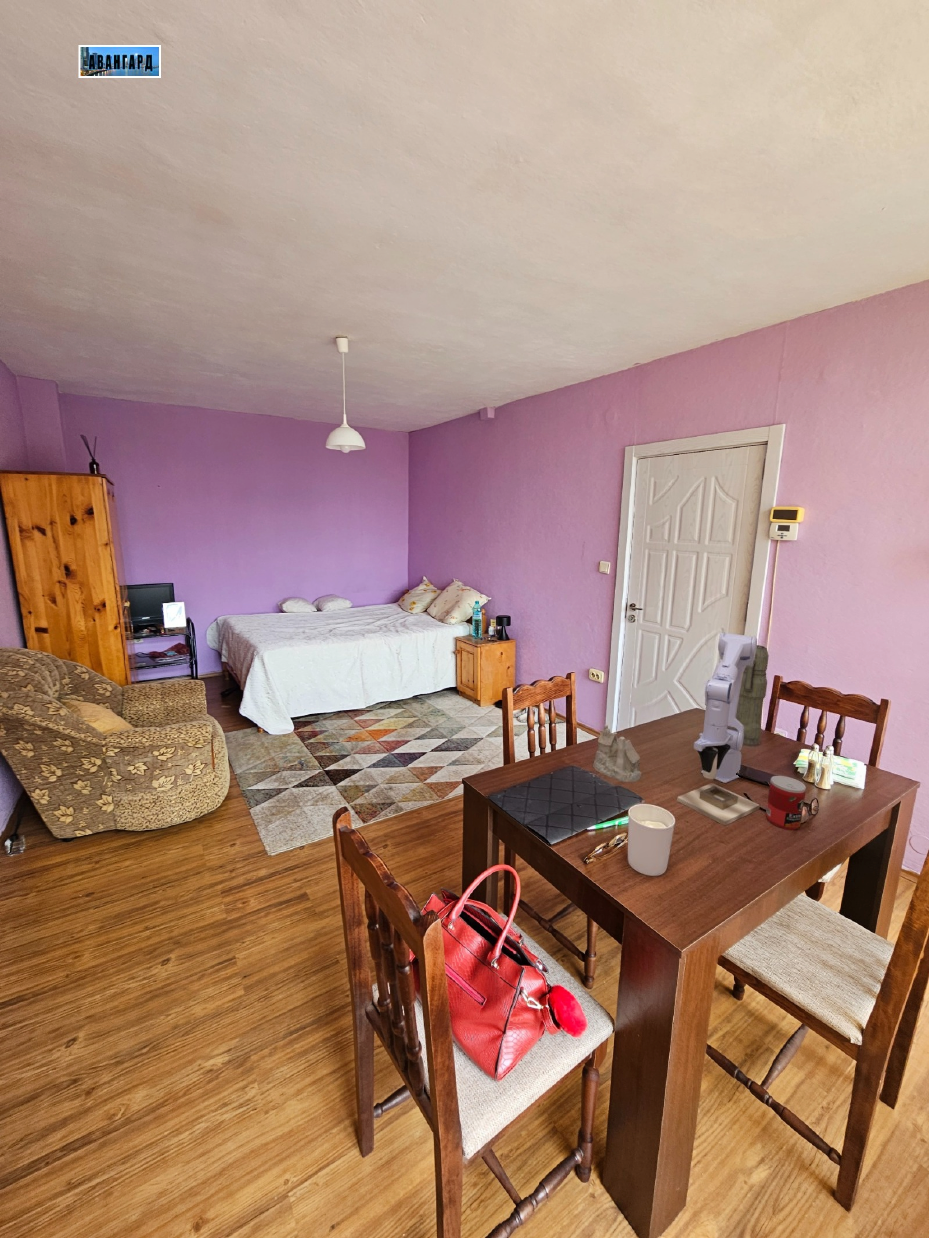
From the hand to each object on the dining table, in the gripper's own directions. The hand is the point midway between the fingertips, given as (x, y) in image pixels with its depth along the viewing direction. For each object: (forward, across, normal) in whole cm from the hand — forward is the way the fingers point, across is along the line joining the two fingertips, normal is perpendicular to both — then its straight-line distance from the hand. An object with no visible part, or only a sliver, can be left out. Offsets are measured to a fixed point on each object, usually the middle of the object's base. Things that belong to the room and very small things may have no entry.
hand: (710, 769), depth 143 cm
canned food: (+10, -8, +16) cm, 21 cm away
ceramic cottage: (+10, +6, -26) cm, 29 cm away
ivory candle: (+2, 0, 0) cm, 2 cm away
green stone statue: (+10, -50, -19) cm, 55 cm away
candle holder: (+10, +37, +10) cm, 40 cm away
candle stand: (+9, -1, +3) cm, 10 cm away
